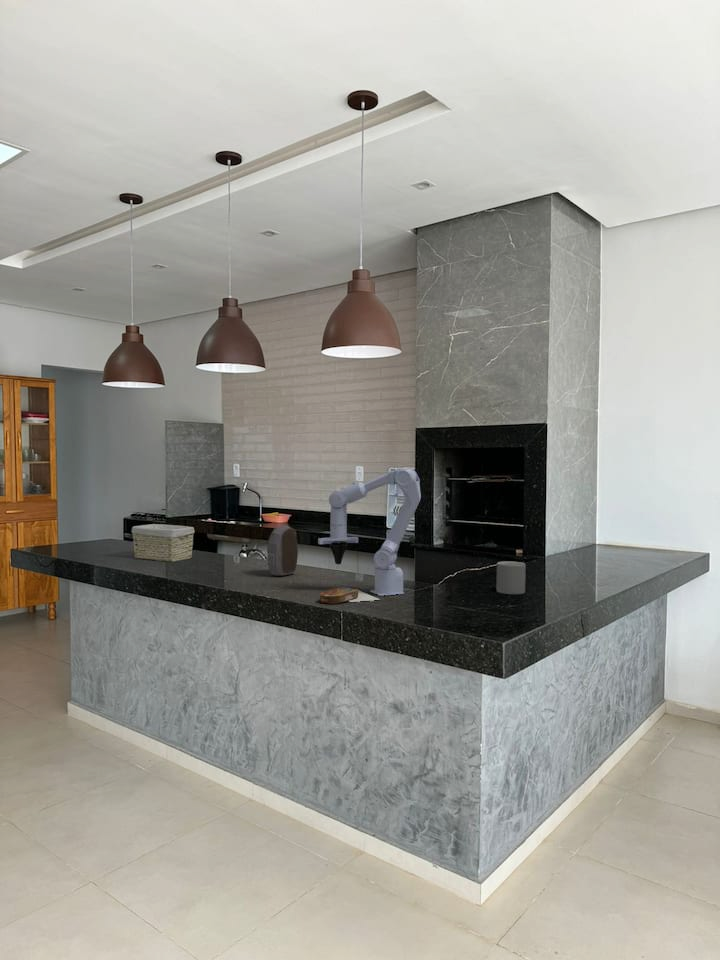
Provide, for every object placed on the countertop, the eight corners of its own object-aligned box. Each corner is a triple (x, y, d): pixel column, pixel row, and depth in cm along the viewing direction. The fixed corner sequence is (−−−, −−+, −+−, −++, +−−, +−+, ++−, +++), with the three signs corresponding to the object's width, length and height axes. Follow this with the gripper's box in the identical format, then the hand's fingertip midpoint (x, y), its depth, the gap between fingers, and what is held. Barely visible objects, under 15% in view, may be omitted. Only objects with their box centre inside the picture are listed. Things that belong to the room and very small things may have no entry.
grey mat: (354, 589, 250) (354, 588, 250) (379, 600, 231) (380, 599, 231) (327, 591, 245) (327, 590, 245) (350, 603, 227) (350, 601, 227)
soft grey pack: (278, 578, 270) (278, 526, 270) (260, 576, 274) (261, 525, 274) (300, 573, 283) (301, 523, 283) (283, 571, 287) (284, 522, 287)
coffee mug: (518, 595, 243) (519, 566, 243) (491, 592, 249) (492, 563, 249) (532, 589, 255) (533, 562, 254) (506, 586, 260) (507, 559, 260)
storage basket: (196, 558, 321) (196, 526, 321) (172, 563, 306) (172, 529, 306) (154, 554, 331) (154, 523, 331) (130, 559, 316) (130, 526, 316)
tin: (344, 586, 239) (363, 586, 234) (345, 595, 240) (364, 596, 234) (314, 594, 228) (333, 595, 223) (314, 603, 228) (334, 605, 223)
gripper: (352, 523, 254) (352, 561, 254) (315, 524, 248) (314, 563, 248) (361, 525, 247) (360, 564, 248) (322, 526, 241) (322, 566, 242)
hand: (338, 563), depth 248 cm, fingers closed
